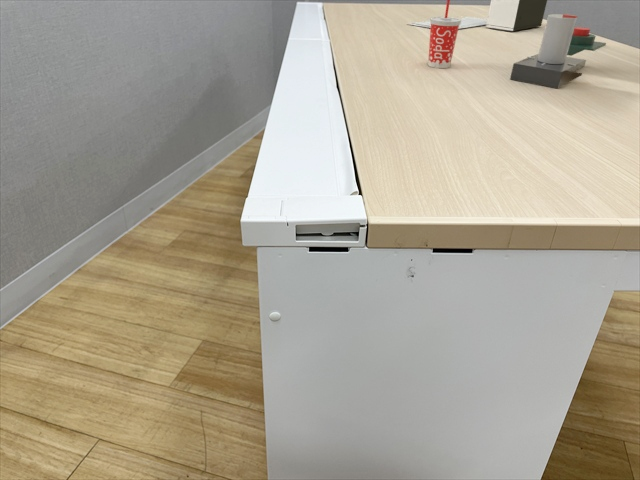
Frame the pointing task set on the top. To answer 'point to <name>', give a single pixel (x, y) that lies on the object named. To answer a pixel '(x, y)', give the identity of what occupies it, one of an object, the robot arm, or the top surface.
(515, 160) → the top surface
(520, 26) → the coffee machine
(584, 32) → the stop button
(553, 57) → the light grey cylinder
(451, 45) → the beverage cup
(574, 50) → the button box
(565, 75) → the tap block
